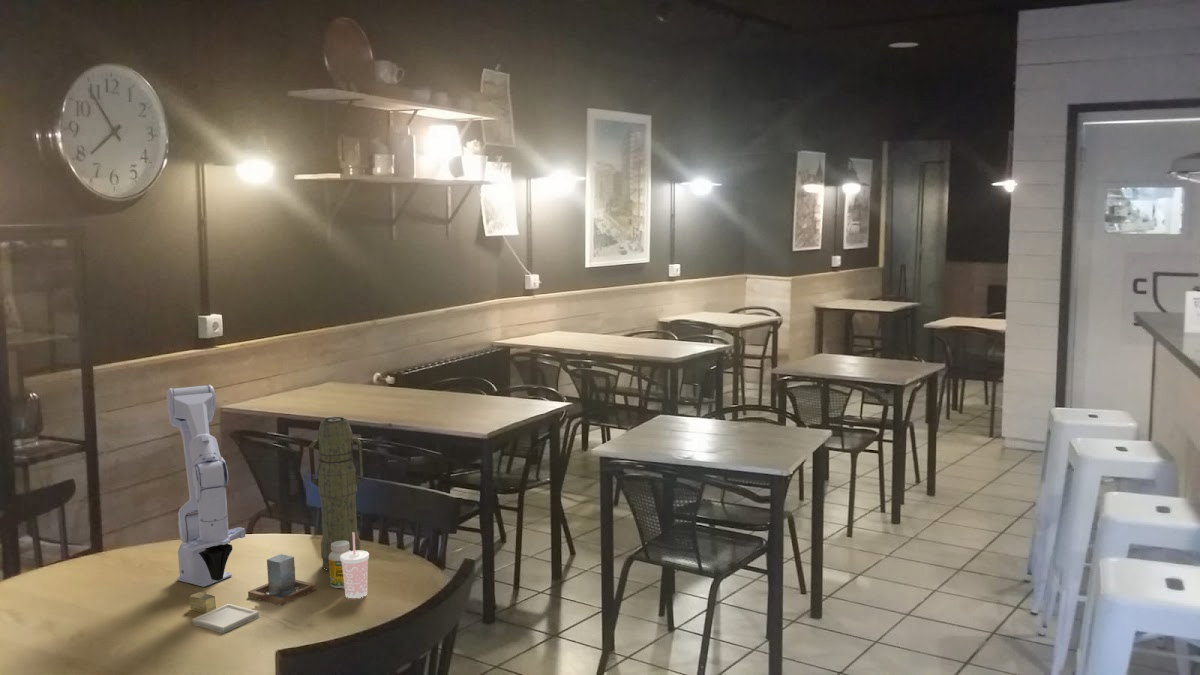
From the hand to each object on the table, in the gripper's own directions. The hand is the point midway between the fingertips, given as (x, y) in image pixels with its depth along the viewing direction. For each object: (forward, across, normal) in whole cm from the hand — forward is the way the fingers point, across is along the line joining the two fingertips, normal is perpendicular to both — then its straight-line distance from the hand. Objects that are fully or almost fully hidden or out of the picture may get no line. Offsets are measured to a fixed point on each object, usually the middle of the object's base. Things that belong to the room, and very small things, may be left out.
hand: (217, 579), depth 218 cm
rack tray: (+5, -6, -9) cm, 12 cm away
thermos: (+6, +29, -7) cm, 31 cm away
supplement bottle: (+6, +20, -16) cm, 26 cm away
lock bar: (+5, -4, 0) cm, 7 cm away
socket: (+5, +10, -8) cm, 14 cm away
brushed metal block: (+5, +10, -8) cm, 14 cm away
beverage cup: (+5, +17, -23) cm, 29 cm away
